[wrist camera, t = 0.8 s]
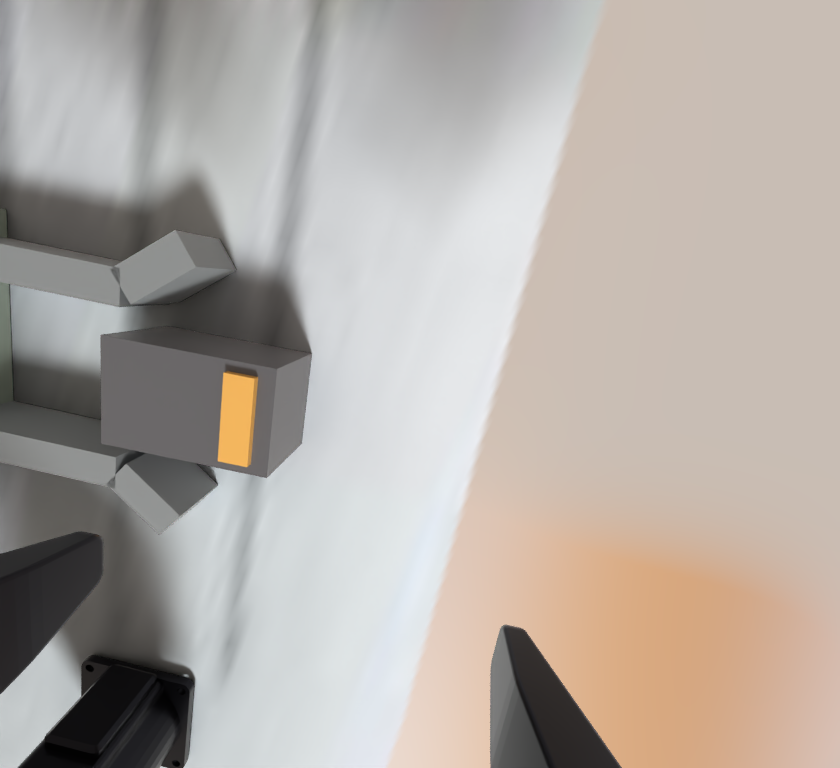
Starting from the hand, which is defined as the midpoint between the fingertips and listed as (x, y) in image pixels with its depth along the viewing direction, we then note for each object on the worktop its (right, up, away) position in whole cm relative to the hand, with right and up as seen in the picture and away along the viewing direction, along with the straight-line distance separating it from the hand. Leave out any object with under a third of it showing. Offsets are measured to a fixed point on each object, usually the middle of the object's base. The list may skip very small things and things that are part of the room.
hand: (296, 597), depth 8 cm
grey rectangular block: (-6, +4, +12) cm, 14 cm away
